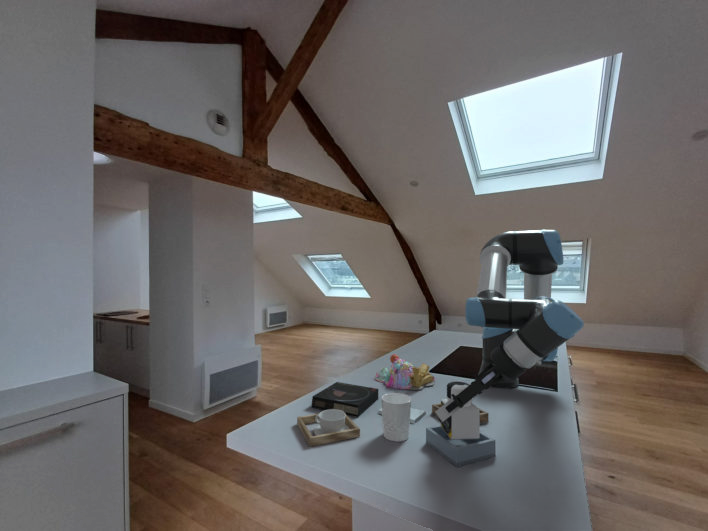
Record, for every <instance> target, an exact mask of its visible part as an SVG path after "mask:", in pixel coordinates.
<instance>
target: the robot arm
mask: <svg viewBox="0 0 708 531" xmlns="http://www.w3.org/2000/svg"><path fill="white" fill-rule="evenodd" d="M563 252H564V250H563V244H562V239H561V235H560V233H559V232H558V231H557V230H556V229H536V230H533V229H532V230H518V231H517V230H516V231H512V230H511V231H505V232H502V233H498V234H497V235H495V236H494V237H492V238H490V239H489V240H488V241H487V242H486V243H485V244H484V245H483V246H482V248H481V250H480V253H479V261H480V264H481V265H480V266H481V267H480V272H479V273H480V274H479V278H478V284H477V289H476V290H477V291H476V296H474V297H468V298H467V299H466V301H465V308H464V311H465V315H464V316H465V321H466V323H467V325H469V326H473V327H481V328H483V329H482V336H481V339H482V361H481V365H480V368H479V372H478V374H477V375H476V377H474V378H475V379H474V381H472V382H471V383H470V384H469V386H468V387H466V388H465V389H464V390H463V391H461V392H460V393H459V394H458V395H454V394H452V395H451V396H452V397H453V398H452V399H450V400H449V401H448V402H447V403H445V404H444V405H443V406H442V407H440V408H439V409H438V410H437V411H435V412H436V414H437V415H438V416H439V417H438V416H437V415H436V416H437V417H438V418H439V419H440V421H441V420H442V422H443V421H445V420H446V419H447V418H448V417H450V416H451V415H452V414H454V413H455V412H456V411H457V410H459V409H460V408H462V407H463V406H464V405H465V404H466V403H467V402H469V401H470V400H471V399H472V400H473V398H475V397H477V396H478V395H479V396H480V395H481V394H482V393H483V392H482V391H484V390H485V391H486V390H488V389H489V388H490V387H495V388H504V389H505V388H507V389H511V388H516V387H518V386H519V377H521V376H523V374H525V373H526V372H527V369H532V367H534V366H535V365H537V366H541V365H542V362H553V361H554V360H556V358H557V354H558V350H559V347H560V346H562V345H563V344H565V343H566V342H568V341H569V340H570V339H572V338H574V337H575V336H576V334H577V333H579V332H580V331H581V330H582V329H583V328H584V326H585V322H584V320H582V318H581V316H579V315H578V314H577V313H576V312H575V311H574V309H572V308H570V306H568V305H567V304H566V303H564V302H563V301H561V300H559V299H553V298H552V283H553V281H552V280H553V274H555V273H556V272H557V271H558V266H561V265H564V253H563ZM508 266H518V268H519V270H520V272H522V273H523V298H507V280H508V278H507V276H508Z"/></svg>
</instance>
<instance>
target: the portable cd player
mask: <svg viewBox="0 0 708 531" xmlns="http://www.w3.org/2000/svg"><path fill="white" fill-rule="evenodd" d="M378 400H379V388H374V387H369V386H363V385H358V384H357V385H356V384H351V383H345V382H338V381H336V382H334V383H332V384H331V385H330V386H328V387H326V388H324V389H323V390H320V391H319V392H317V393H315V394H314V395H313V396H312V398H311V408H312V409H317V410H320V411H325V410H330V409H336V410H342V411H343V412H344V413H345V414H346V415H347V416H348V417H354V418H359V417H360V416H361V415H363V414H364V413H365V412H366V411H367V410H368V409H370V407H372V406H373V405H374V404H375V403H376V402H377V401H378Z"/></svg>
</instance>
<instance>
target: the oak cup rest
mask: <svg viewBox="0 0 708 531" xmlns="http://www.w3.org/2000/svg"><path fill="white" fill-rule="evenodd" d="M341 411H342V410H341ZM320 413H321V412H319V413H315V414H313V413H312V414H308V415H307V414H306V415H301V416H297V417H296V418H297V421H296V424H297V426H298V428H299V430H300V432H301V433H302V435H303V437H304V438H305V440H306V442H307V443H308V446H309V447H314V446H321V445H326V444H330V443H335V442H340V441H345V440H349V439H350V440H351V439H353V438H354V439H355V438H359V437H360V436H361V429H360V427H359V426H357V424H356V423H355V422H354V421H353V420H352V419H351V418H350V416H349V415H346V417H345V425H347V426H348V427H349V428H350V429H349V430H344V431H339V432H333V433H328V434H323V435H314V436H313V435H312V433H311V432H310V430H309V429H308V427H307V425H308V424H313V423H317V422H316V420H315V417H316V416H317V415H319V414H320ZM317 418H318V421H319V417H317ZM306 424H307V425H306ZM360 438H361V437H360Z"/></svg>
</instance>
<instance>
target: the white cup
mask: <svg viewBox="0 0 708 531" xmlns="http://www.w3.org/2000/svg"><path fill="white" fill-rule="evenodd" d="M381 408H382V414H381V417H382V418H381V419H382V425H383V426H382V428H383V429H382V431H383V434H382V435H383V436H384V438H385V439H386V440H388V441H389V442H390V441H391V442H396V443H397V442H399V443H400V442H404V441H407V440H408V439H409V435H410V427H411V423H410V413H411V408H412V398H411V397H410V396H409V395H407V394H404V393H398V392H390V393H385V394H383V395H382V396H381Z"/></svg>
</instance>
